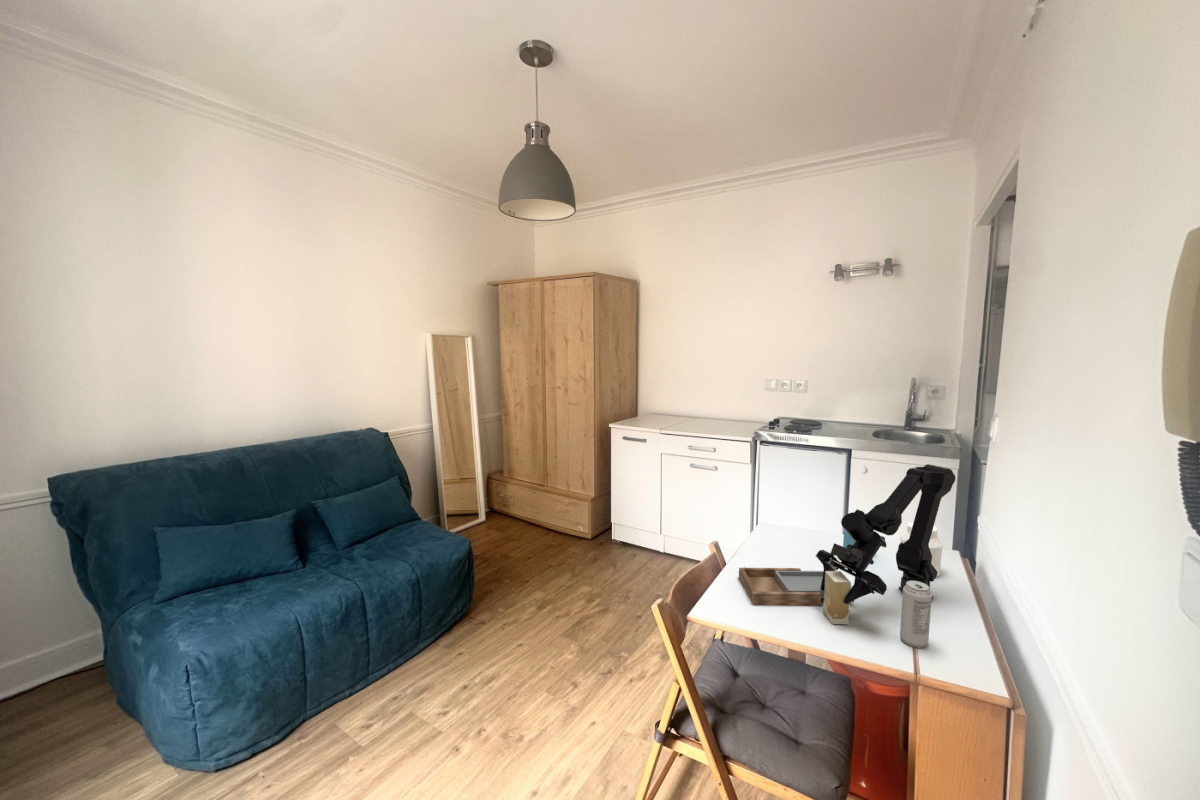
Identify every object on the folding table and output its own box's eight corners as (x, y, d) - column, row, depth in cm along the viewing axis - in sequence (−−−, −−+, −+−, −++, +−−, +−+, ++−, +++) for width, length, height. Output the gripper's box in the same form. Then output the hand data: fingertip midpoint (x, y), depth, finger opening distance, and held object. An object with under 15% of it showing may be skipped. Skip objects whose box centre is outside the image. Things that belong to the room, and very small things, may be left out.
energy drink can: (917, 634, 125) (921, 579, 123) (933, 648, 119) (938, 590, 117) (894, 635, 125) (897, 579, 123) (910, 649, 119) (914, 591, 117)
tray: (828, 574, 155) (829, 563, 154) (854, 601, 138) (854, 588, 138) (772, 574, 155) (772, 562, 155) (790, 601, 139) (791, 588, 139)
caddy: (799, 578, 155) (799, 568, 155) (820, 605, 139) (821, 594, 139) (738, 578, 156) (739, 567, 155) (753, 605, 139) (753, 593, 139)
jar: (945, 572, 159) (948, 528, 157) (933, 580, 153) (936, 535, 152) (906, 560, 168) (909, 518, 166) (893, 567, 163) (896, 524, 161)
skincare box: (822, 611, 135) (824, 570, 134) (838, 611, 135) (840, 570, 134) (832, 625, 129) (834, 581, 128) (849, 625, 129) (851, 581, 128)
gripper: (821, 522, 140) (791, 566, 136) (881, 546, 123) (848, 597, 119) (840, 543, 144) (811, 586, 140) (900, 570, 126) (869, 619, 123)
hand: (832, 596), depth 131 cm, fingers closed on skincare box, 7 cm apart
